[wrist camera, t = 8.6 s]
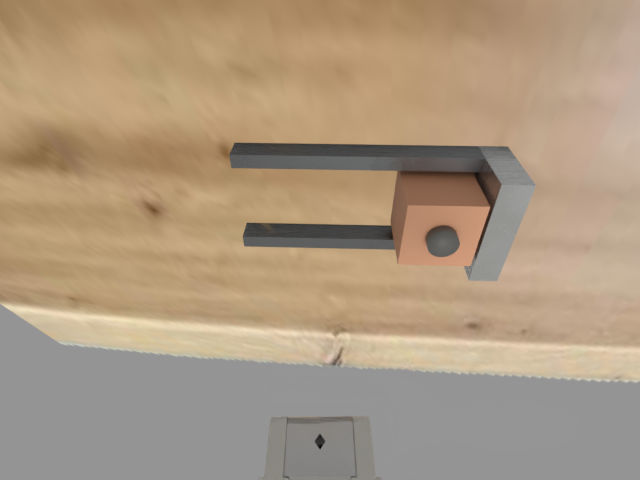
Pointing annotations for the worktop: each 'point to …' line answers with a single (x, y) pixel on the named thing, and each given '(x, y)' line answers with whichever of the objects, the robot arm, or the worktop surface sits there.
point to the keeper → (437, 217)
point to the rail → (484, 161)
